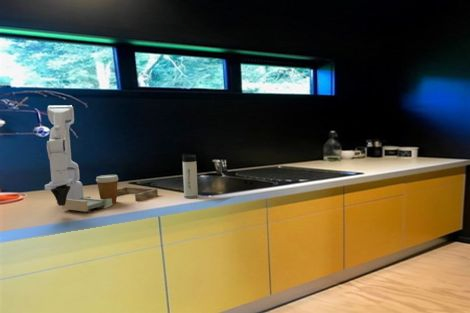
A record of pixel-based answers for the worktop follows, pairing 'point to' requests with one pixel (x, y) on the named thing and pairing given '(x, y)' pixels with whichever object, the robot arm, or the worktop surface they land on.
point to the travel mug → (190, 176)
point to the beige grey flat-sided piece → (86, 204)
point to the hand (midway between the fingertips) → (61, 205)
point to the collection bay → (138, 192)
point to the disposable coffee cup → (108, 187)
